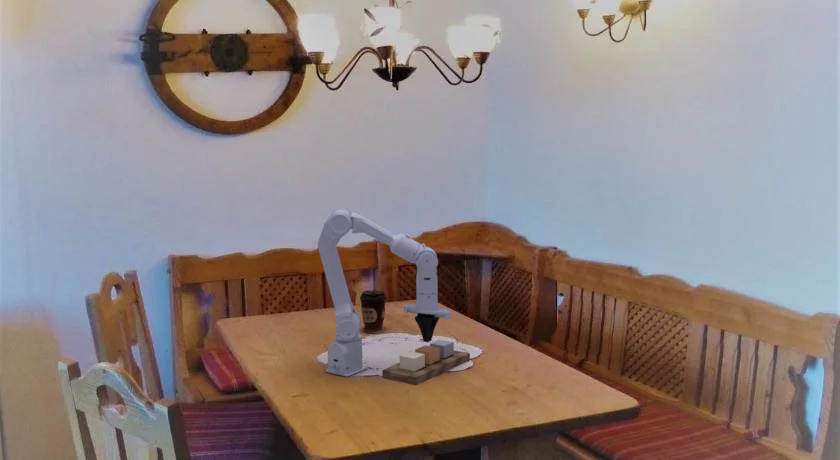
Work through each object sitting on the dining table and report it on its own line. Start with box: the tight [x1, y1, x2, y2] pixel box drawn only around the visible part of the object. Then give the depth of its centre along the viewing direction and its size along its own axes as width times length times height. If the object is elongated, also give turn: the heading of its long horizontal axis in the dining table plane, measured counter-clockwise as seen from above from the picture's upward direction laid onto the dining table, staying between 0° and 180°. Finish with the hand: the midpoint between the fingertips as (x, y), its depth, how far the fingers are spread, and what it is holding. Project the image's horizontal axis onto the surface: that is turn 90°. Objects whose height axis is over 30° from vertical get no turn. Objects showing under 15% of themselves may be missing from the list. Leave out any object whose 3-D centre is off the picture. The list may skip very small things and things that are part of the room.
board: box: [381, 350, 471, 386], centre depth 220 cm, size 26×11×2 cm, turn 144°
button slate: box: [429, 339, 455, 358], centre depth 225 cm, size 5×5×4 cm
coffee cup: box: [359, 289, 388, 334], centre depth 258 cm, size 9×8×13 cm
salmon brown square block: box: [414, 344, 440, 365], centre depth 219 cm, size 5×5×4 cm
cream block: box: [399, 350, 425, 371], centre depth 214 cm, size 5×5×4 cm
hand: (427, 341), depth 219 cm, fingers closed
